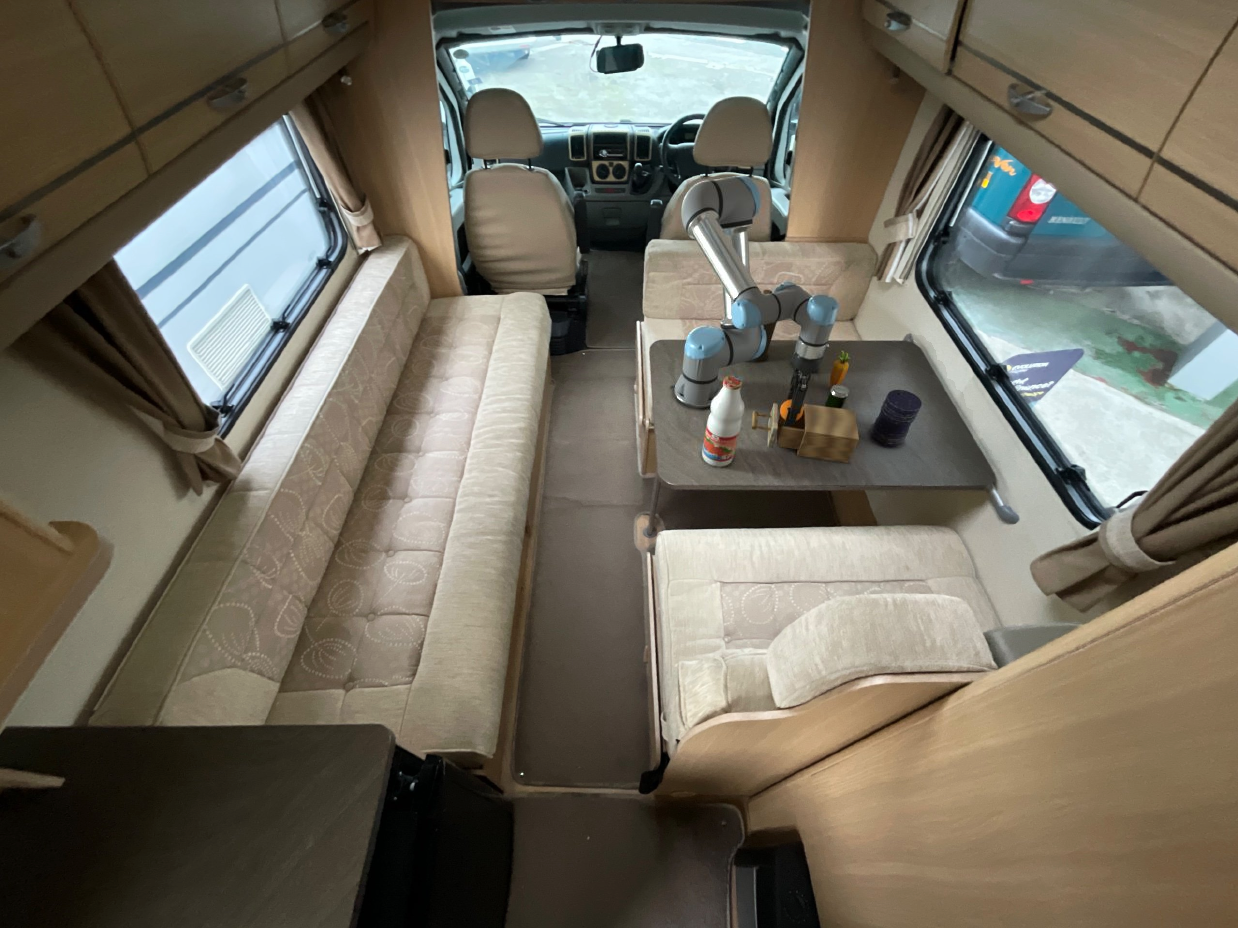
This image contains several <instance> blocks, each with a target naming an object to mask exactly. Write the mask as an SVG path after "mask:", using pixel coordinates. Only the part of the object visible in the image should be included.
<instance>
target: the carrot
mask: <svg viewBox="0 0 1238 928" xmlns="http://www.w3.org/2000/svg"><path fill="white" fill-rule="evenodd" d="M840 354H841V355H838V358H839V359H837V360H834V363H833V365H832V368H831V372H830V374H829V375H830V377H829V387H830V389H831V388H832V387H833V386H834V385H841V384H842V382H843V380H844V379H845V377H846V375H847V372H848V370H849V366H850V365H849V363H848V361H849V360H851V357H850V356H849V354H848V352H844V350H841V351H840Z"/></svg>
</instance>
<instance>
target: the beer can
mask: <svg viewBox="0 0 1238 928" xmlns="http://www.w3.org/2000/svg"><path fill="white" fill-rule="evenodd" d="M848 397H849V388H848V387H847V386H846V385H844V384H843V385H842V384H840V385H834V386H833V387H832V388H830V390H829V393H828V395H827V399H826V401H825V404H824V407H831V408H838V409H844V406H845V404H846V401H847V399H848Z"/></svg>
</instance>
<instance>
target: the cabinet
mask: <svg viewBox="0 0 1238 928" xmlns="http://www.w3.org/2000/svg"><path fill="white" fill-rule="evenodd" d="M824 406H825V405H824ZM824 406H823V405H816V404H810V403H809V404H808V403H803V410H804V420H805V433H804V436H803V439H802V442H801V445H800V448H799V449H796V452H797V457H803V458H804V457H805V458H812V459H818V460H823V461H824V460H825V461H831V462H836V463H837V462H838V463H844V464H849V463H850V460H851V459H852V455H853V453H854V451H855V449H856V447H857V445H858V442H859V440H860V438H859V437H860V436H859V430H858V424H857V416H856V410H853V409H852V410H851V409H845V408H843V409H838V408H831V407H824Z"/></svg>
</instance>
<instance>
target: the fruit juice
mask: <svg viewBox="0 0 1238 928" xmlns="http://www.w3.org/2000/svg"><path fill="white" fill-rule="evenodd" d="M742 387H743V380H742V379H741V378H740V377H738V376H737V375H736V376H735V375H727V376H725V377H724V378H723V381H722V387H721V388H722V389H721V388H720V389H721V391H720V392H719V393H718V395H717V396H715V397H714V399H713V400H712V403H711V407H710V414H709V415H708V418H707V421H706V427H705V431H704V432H705V433H704V438H703V443H702V449H701V456H702V459H703V461H704V462H705V463H707V464H709V465H710V466H714V467H721V468H722V467H726V466H728V465H730V464H731V463H732V461H733V460H734V458H735V457H734V456H735V452H736V449H737V445H738V440H739V437H740V432H741V429H742V417H743V415H744V413H745V402H744V400H743V398H742V395H741V389H742Z"/></svg>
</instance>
